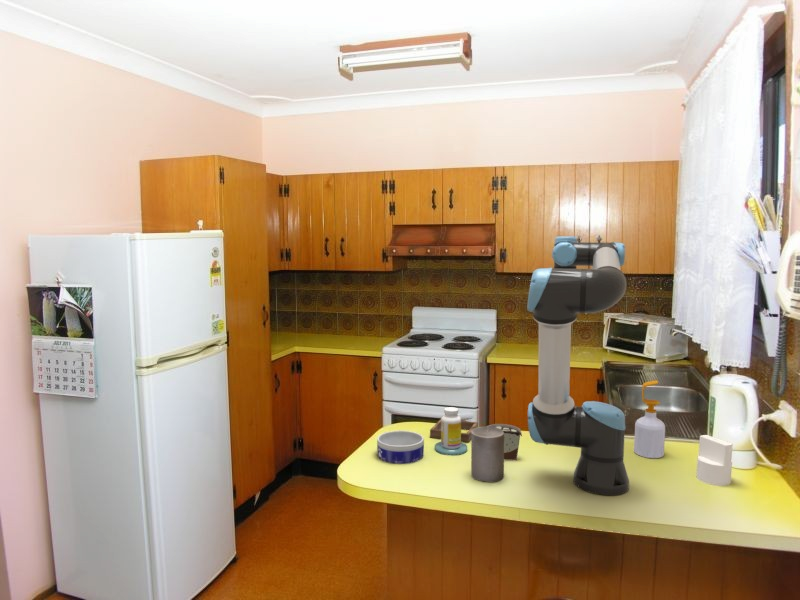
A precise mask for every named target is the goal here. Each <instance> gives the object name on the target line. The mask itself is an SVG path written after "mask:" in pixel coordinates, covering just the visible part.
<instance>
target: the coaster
mask: <svg viewBox="0 0 800 600" xmlns="http://www.w3.org/2000/svg"><path fill="white" fill-rule="evenodd" d="M434 451H435V452H436V453H438V454H440V455H444V456H445V455H446V456H460V455H463V454H466V453H467V452H468V445H467V443H465V442H461V446H460V447H459V448H457V449H447V448H444V447H442V445H441V441H439V442H437V443H435V444H434Z"/></svg>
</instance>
